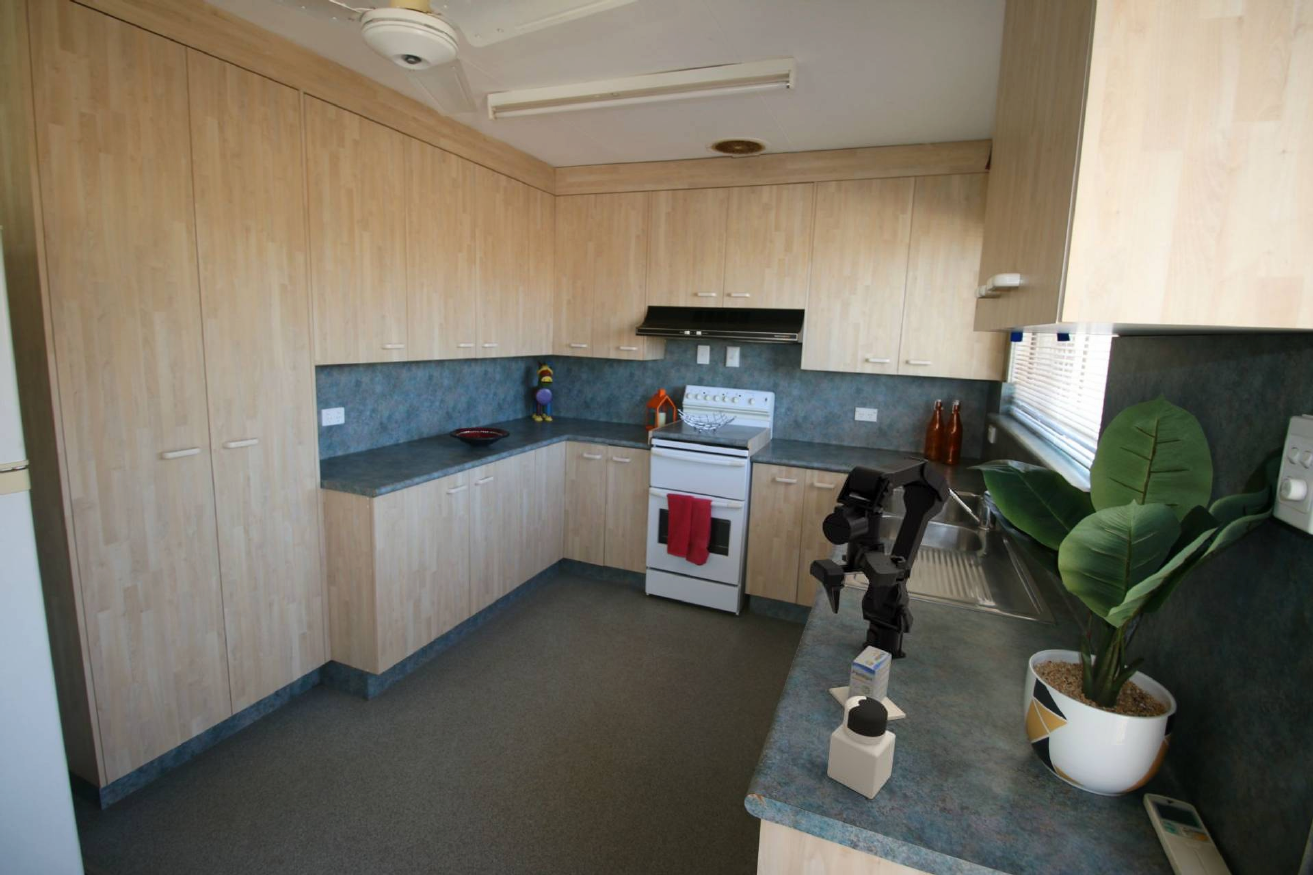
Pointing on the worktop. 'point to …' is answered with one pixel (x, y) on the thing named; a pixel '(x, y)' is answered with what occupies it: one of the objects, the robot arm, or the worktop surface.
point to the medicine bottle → (862, 747)
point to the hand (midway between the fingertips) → (856, 611)
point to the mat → (892, 709)
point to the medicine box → (870, 674)
